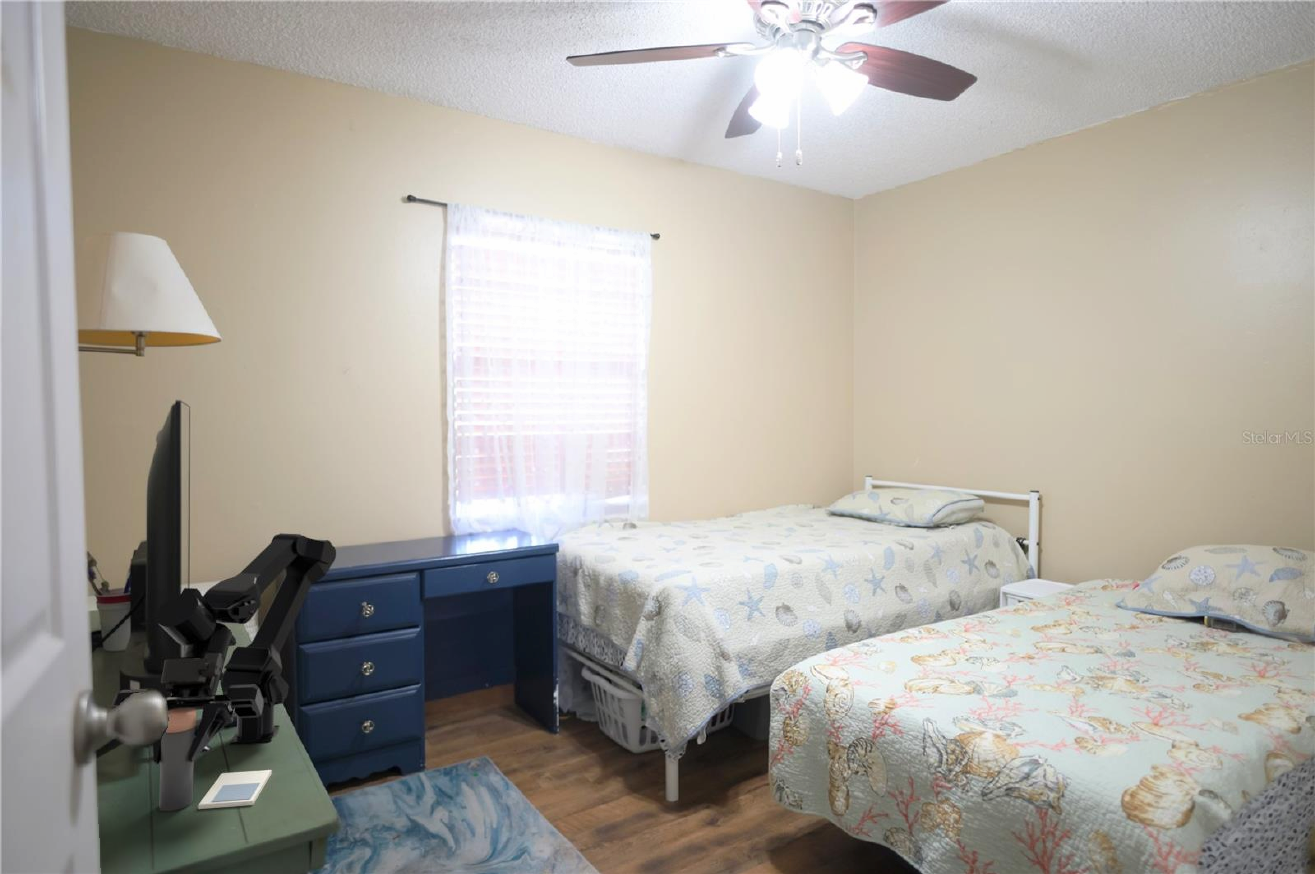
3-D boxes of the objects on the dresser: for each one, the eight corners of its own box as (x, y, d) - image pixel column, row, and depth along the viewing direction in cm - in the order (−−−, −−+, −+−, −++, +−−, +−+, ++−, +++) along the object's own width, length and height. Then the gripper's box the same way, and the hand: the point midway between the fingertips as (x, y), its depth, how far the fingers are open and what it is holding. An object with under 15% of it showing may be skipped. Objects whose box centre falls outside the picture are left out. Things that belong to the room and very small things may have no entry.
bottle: (165, 798, 108) (168, 708, 108) (197, 796, 109) (200, 706, 109) (153, 813, 104) (156, 719, 104) (186, 810, 105) (189, 717, 105)
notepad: (221, 777, 115) (221, 772, 115) (271, 773, 117) (271, 769, 117) (198, 809, 105) (198, 804, 105) (252, 805, 107) (253, 800, 107)
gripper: (118, 634, 108) (76, 742, 97) (260, 631, 112) (235, 733, 102) (141, 672, 116) (104, 775, 105) (273, 667, 120) (250, 766, 109)
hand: (173, 762), depth 105 cm, fingers closed on bottle, 4 cm apart
